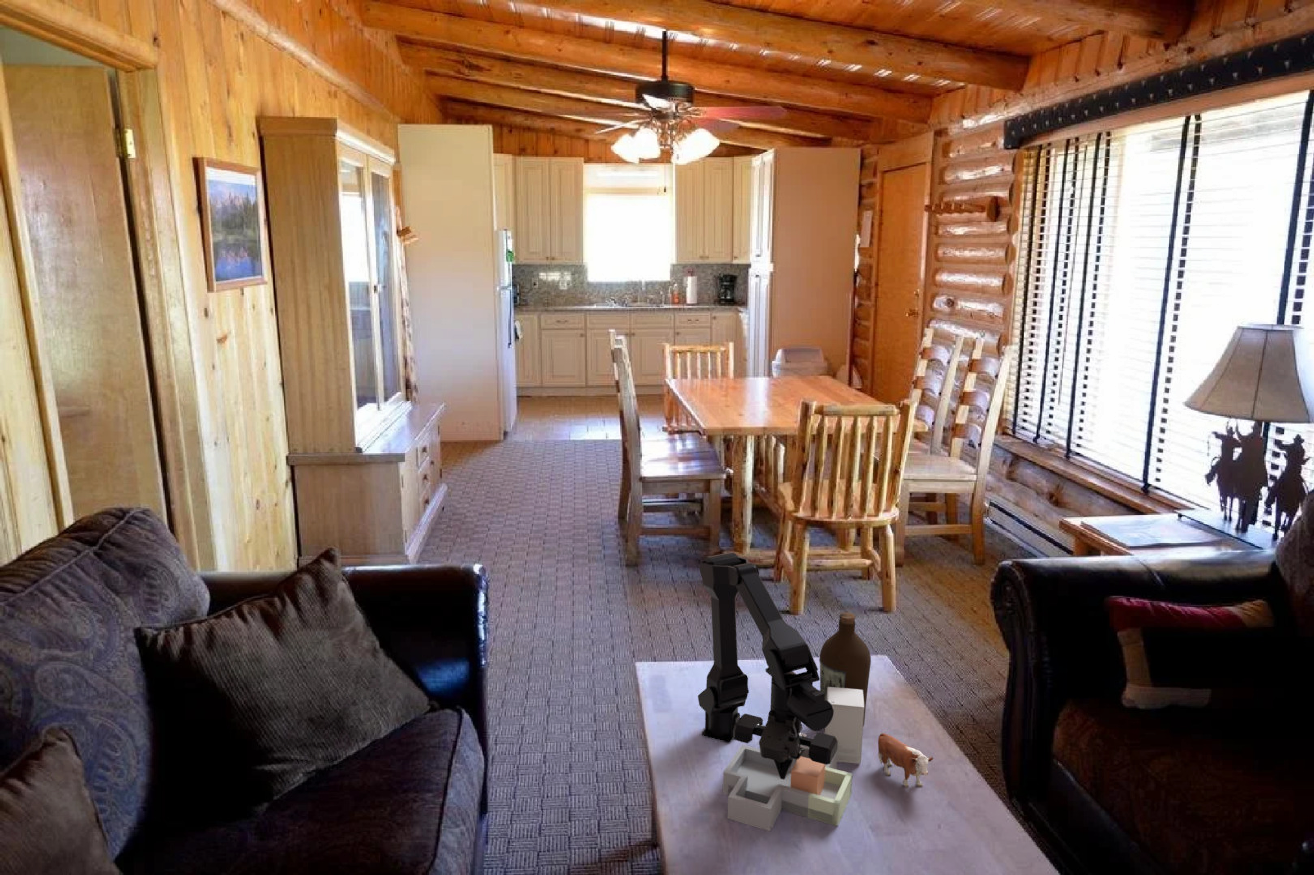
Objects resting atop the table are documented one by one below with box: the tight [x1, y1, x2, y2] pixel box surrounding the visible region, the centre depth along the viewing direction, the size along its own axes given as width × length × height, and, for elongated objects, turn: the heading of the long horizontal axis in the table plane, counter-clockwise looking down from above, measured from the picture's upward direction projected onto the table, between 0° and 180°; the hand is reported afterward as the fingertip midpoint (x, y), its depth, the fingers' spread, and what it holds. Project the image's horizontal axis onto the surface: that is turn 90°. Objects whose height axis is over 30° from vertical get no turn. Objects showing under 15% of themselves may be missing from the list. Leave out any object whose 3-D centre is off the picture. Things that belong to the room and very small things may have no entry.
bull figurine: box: [877, 732, 934, 788], centre depth 168 cm, size 4×13×8 cm, turn 27°
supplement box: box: [824, 687, 864, 765], centre depth 177 cm, size 7×7×13 cm
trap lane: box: [722, 744, 853, 832], centre depth 165 cm, size 22×23×4 cm
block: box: [791, 756, 825, 795], centre depth 162 cm, size 5×5×5 cm
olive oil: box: [818, 612, 872, 728], centre depth 186 cm, size 11×11×25 cm
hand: (783, 778), depth 165 cm, fingers closed
